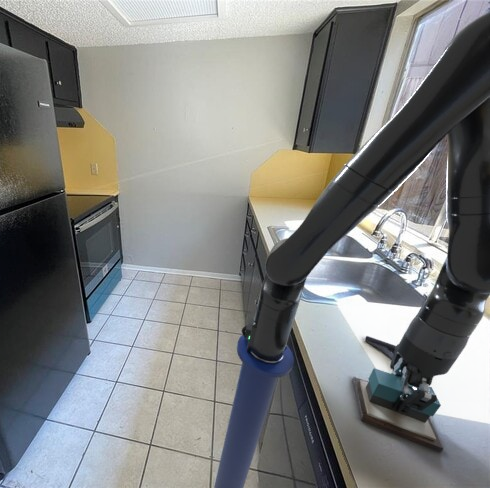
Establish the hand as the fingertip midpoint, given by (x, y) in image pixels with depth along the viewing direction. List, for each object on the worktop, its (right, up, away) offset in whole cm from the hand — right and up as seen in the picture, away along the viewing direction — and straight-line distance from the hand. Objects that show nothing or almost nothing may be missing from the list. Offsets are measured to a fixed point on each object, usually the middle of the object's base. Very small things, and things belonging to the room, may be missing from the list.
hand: (395, 400), depth 56 cm
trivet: (0, -3, +1) cm, 3 cm away
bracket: (+12, +1, +12) cm, 17 cm away
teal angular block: (0, -1, 0) cm, 1 cm away
